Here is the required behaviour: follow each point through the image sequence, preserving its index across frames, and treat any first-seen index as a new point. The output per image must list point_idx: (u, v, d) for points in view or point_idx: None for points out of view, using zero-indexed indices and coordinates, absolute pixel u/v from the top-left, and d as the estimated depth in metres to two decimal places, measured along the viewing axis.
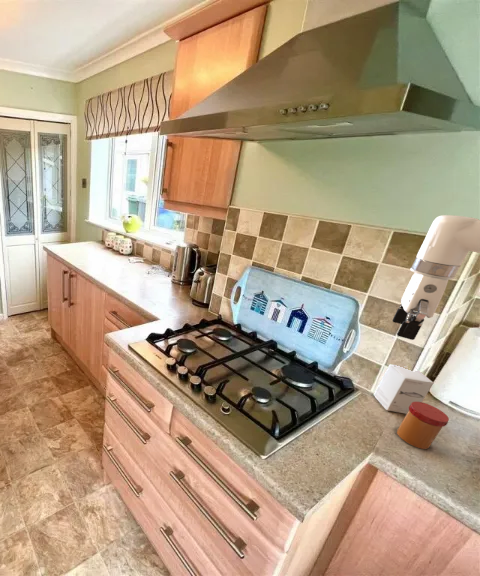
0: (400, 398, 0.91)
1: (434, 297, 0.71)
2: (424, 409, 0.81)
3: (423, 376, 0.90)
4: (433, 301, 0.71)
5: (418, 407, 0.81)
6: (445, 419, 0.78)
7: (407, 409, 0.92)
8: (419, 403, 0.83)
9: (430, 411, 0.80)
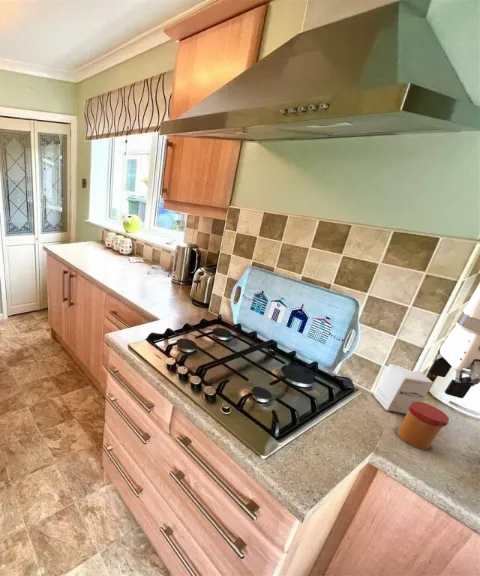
0: (400, 398, 0.91)
1: None
2: (424, 409, 0.81)
3: (423, 376, 0.90)
4: None
5: (418, 407, 0.81)
6: (445, 419, 0.78)
7: (407, 409, 0.92)
8: (419, 403, 0.83)
9: (430, 411, 0.80)
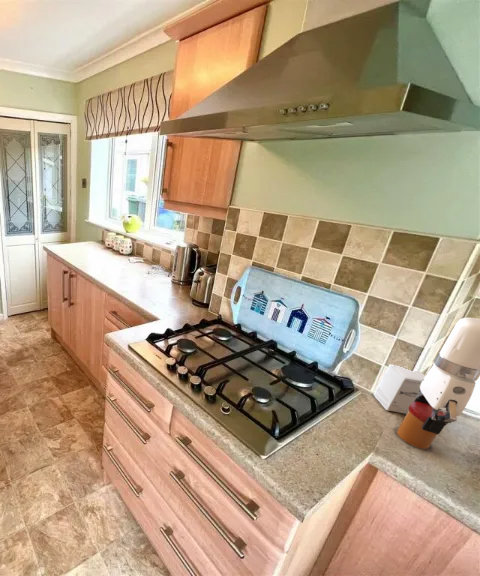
0: (400, 398, 0.91)
1: (463, 399, 0.72)
2: (424, 409, 0.81)
3: (423, 376, 0.90)
4: (462, 402, 0.73)
5: (418, 407, 0.81)
6: None
7: (407, 409, 0.92)
8: (419, 403, 0.83)
9: (430, 411, 0.80)
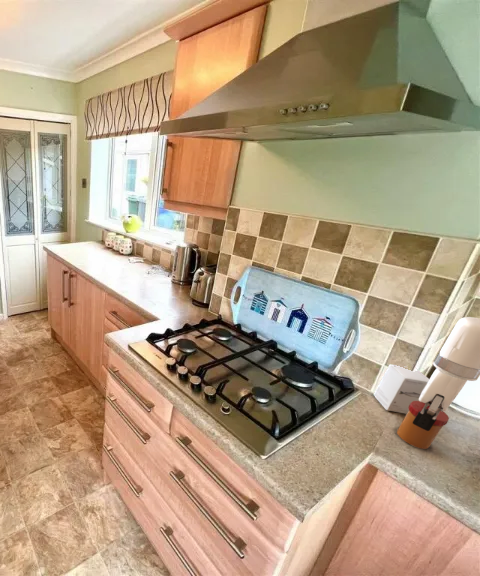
0: (400, 398, 0.91)
1: None
2: None
3: (423, 376, 0.90)
4: None
5: (441, 416, 0.79)
6: (418, 401, 0.83)
7: (407, 409, 0.92)
8: None
9: None
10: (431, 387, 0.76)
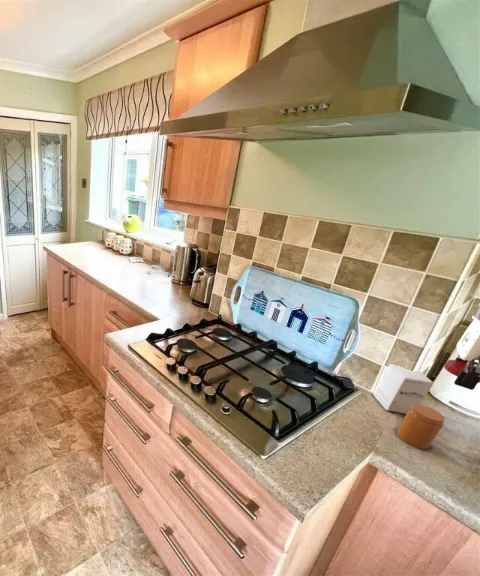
0: (400, 398, 0.91)
1: None
2: None
3: (423, 376, 0.90)
4: None
5: None
6: (452, 360, 0.80)
7: (407, 409, 0.92)
8: None
9: None
10: (477, 343, 0.71)
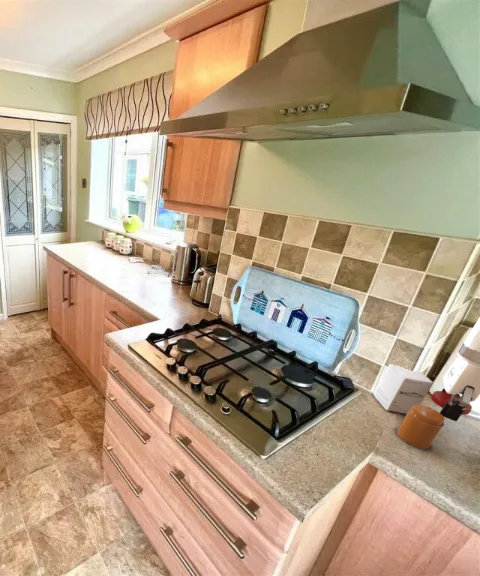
0: (400, 398, 0.91)
1: None
2: None
3: (423, 376, 0.90)
4: None
5: None
6: (438, 391, 0.85)
7: (407, 409, 0.92)
8: None
9: None
10: (461, 379, 0.77)
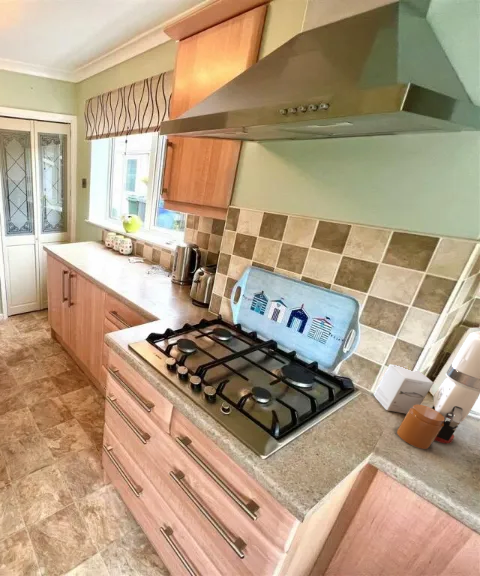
0: (400, 398, 0.91)
1: None
2: None
3: (423, 376, 0.90)
4: None
5: None
6: None
7: (407, 409, 0.92)
8: None
9: None
10: (449, 400, 0.79)
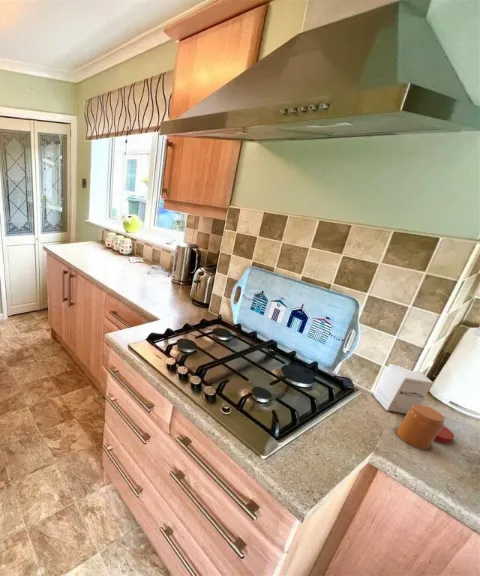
0: (400, 398, 0.91)
1: None
2: (441, 430, 0.85)
3: (423, 376, 0.90)
4: None
5: (447, 433, 0.84)
6: None
7: (407, 409, 0.92)
8: (443, 436, 0.83)
9: None
10: None
